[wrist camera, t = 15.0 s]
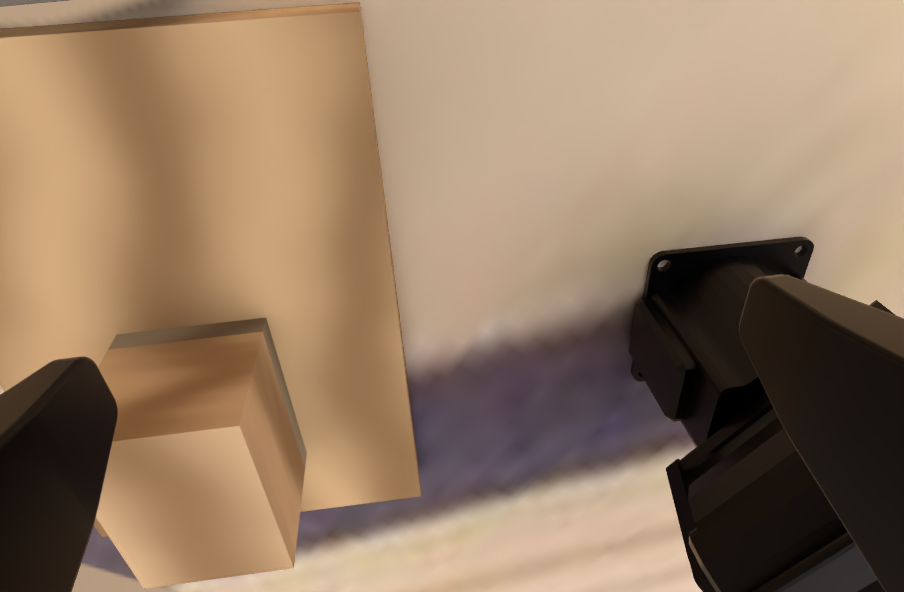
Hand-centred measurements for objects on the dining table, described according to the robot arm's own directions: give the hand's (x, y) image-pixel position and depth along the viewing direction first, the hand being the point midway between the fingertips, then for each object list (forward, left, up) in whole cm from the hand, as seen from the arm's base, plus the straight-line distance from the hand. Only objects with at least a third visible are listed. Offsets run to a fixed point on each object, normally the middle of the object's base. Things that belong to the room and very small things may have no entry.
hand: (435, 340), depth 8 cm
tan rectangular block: (+8, +10, -10) cm, 17 cm away
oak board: (+8, +7, -12) cm, 16 cm away
